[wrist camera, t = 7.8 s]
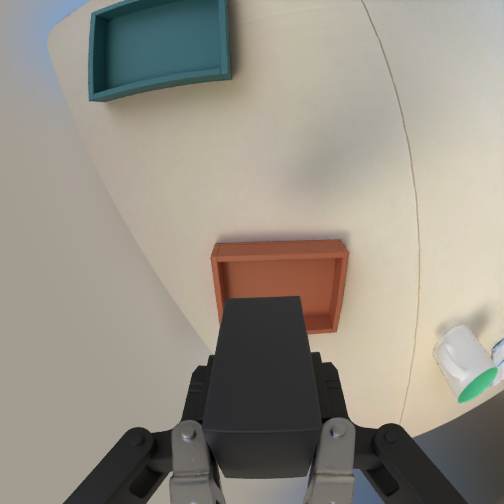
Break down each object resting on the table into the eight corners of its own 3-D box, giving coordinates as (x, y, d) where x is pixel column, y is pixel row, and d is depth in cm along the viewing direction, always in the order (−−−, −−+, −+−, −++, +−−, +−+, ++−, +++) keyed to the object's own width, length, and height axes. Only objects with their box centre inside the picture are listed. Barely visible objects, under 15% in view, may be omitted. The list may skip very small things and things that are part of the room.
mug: (410, 353, 36) (435, 402, 27) (442, 314, 33) (475, 362, 24) (448, 362, 38) (471, 403, 29) (476, 329, 35) (504, 368, 26)
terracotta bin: (224, 320, 33) (221, 337, 31) (215, 243, 29) (210, 256, 26) (331, 315, 33) (337, 332, 30) (340, 239, 29) (349, 252, 26)
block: (235, 367, 15) (224, 478, 9) (225, 297, 13) (200, 430, 7) (296, 365, 15) (307, 477, 9) (300, 294, 13) (323, 428, 7)
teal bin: (104, 102, 22) (88, 101, 20) (105, 20, 18) (91, 12, 15) (231, 79, 22) (228, 73, 19) (227, -8, 17) (224, -21, 15)
